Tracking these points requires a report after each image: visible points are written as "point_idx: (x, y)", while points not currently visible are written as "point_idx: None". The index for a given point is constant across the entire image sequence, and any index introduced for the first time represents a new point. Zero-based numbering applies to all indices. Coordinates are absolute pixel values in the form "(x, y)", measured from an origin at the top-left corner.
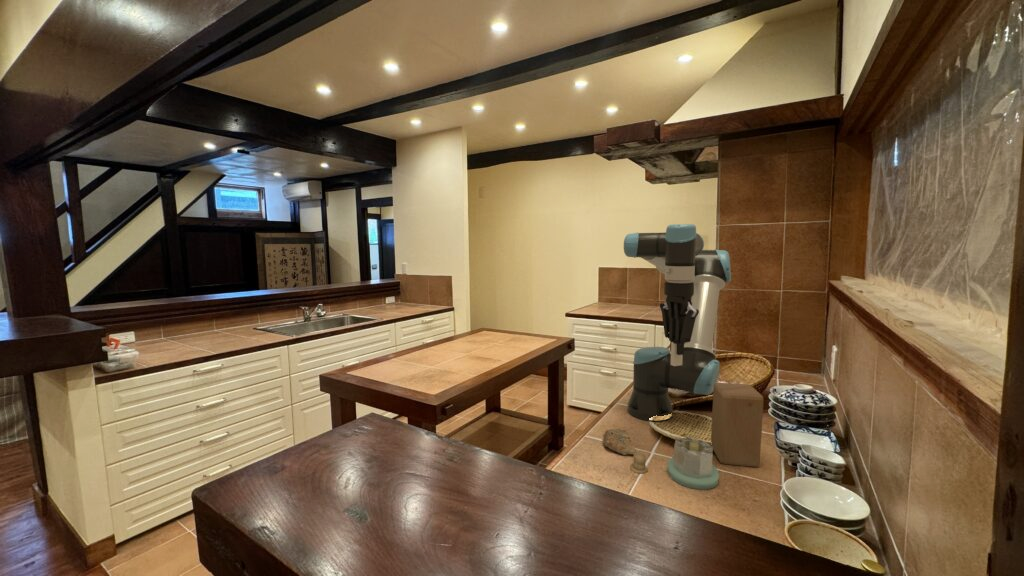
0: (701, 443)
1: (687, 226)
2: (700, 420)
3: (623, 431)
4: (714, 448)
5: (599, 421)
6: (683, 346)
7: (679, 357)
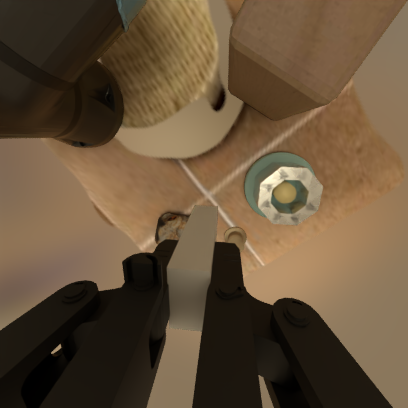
0: (289, 177)
1: None
2: (136, 19)
3: (168, 225)
4: (249, 104)
5: (102, 209)
6: (242, 279)
7: (215, 237)
